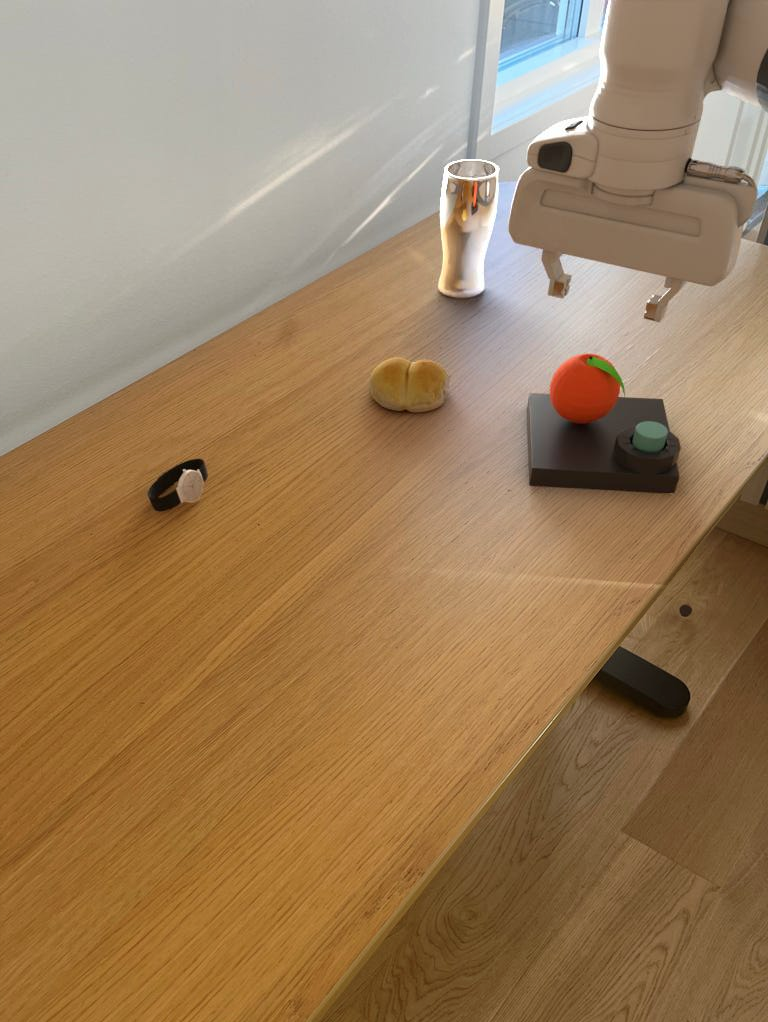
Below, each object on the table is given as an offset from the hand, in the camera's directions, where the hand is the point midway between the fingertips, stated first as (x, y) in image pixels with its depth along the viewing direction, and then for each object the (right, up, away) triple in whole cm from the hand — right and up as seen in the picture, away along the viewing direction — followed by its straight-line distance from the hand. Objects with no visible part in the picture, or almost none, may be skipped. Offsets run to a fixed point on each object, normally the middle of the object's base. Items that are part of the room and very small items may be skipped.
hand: (604, 306), depth 89 cm
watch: (-41, -17, +7) cm, 45 cm away
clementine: (+1, -9, +10) cm, 13 cm away
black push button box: (+2, -12, +9) cm, 15 cm away
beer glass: (-7, +15, +36) cm, 40 cm away
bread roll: (-16, -4, +18) cm, 25 cm away
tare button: (+5, -12, +3) cm, 14 cm away
